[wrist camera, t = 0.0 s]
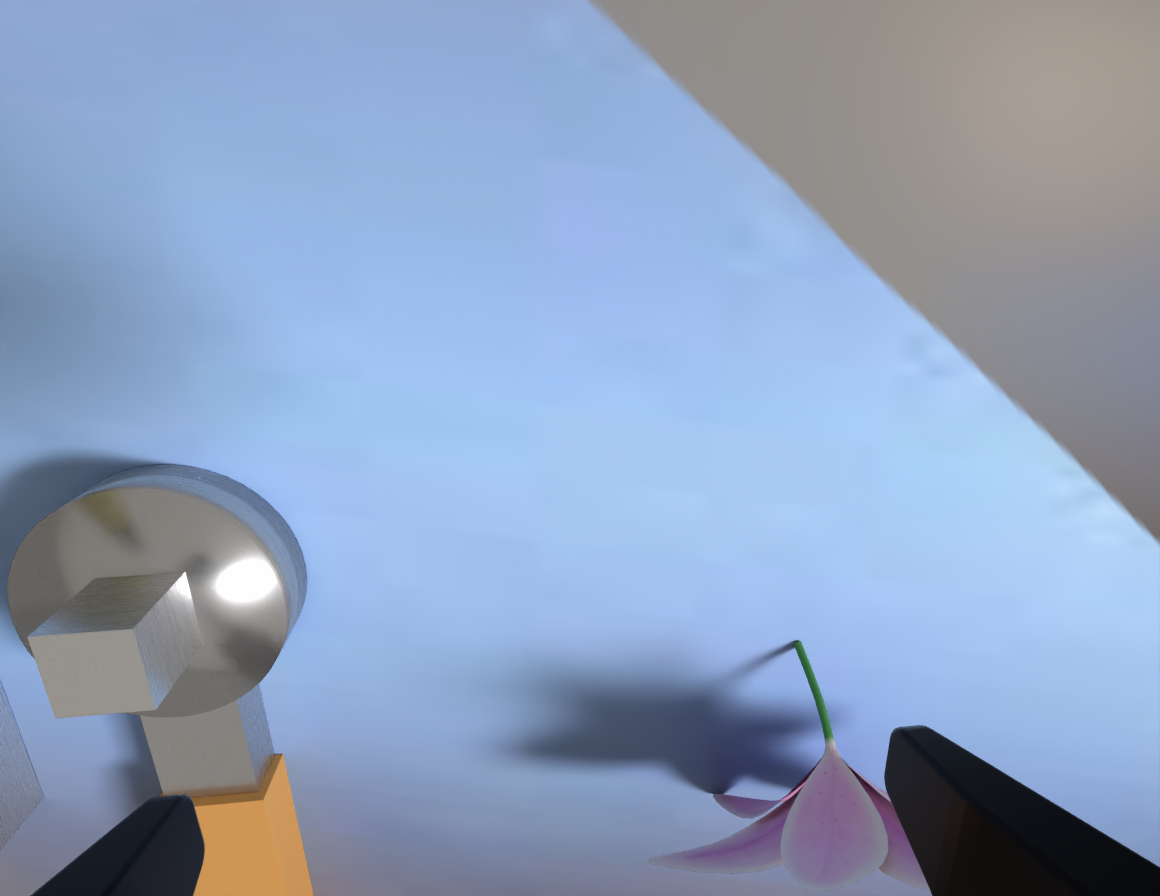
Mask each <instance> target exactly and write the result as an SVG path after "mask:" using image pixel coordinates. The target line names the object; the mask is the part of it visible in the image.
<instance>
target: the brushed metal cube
mask: <svg viewBox="0 0 1160 896" xmlns="http://www.w3.org/2000/svg"><path fill="white" fill-rule="evenodd" d="M43 798H44V797H43V794H42V792H41V789H40V786H39V784H38V781H37V778H36V776H35V773H34V770H33V768H32V765H31V762H30V760H29V757H28V754H27V752H26V749H25V746H24V744H23V741H22V738H21V736H20V733H19V730H18V728H17V725H16V722H15V720H14V717H13V714H12V712H11V709H10V706H9V704H8V701H7V698H6V696H5V693H4V690H3V688H2V685H1V682H0V851H1V850H2V849H3V848H4V846H5V845H6V844H7V843H8V842H9V840H10V839H11V838H12V837H13V835H14V834H15V833H16V832H17V830H18V829H19V828H20V827H21V825H22V824H23V823H24V822H25V820H26V819H27V818H28V817H29V815H30V814H31V813H32V812H33V811H34V809H35V808H36V807H37V806H38V804H39V803H40V802H41V801H42V799H43Z"/></svg>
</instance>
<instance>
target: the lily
mask: <svg viewBox="0 0 1160 896" xmlns="http://www.w3.org/2000/svg"><path fill="white" fill-rule="evenodd" d="M794 646H795V648H796V651H797V654H798V656H799V659H800V661H801V664H802V666H803V669H804V671H805V674H806V677H807V679H808V682H809V685H810V688H811V691H812V693H813V696H814V699H815V702H816V705H817V709H818V712H819V716H820V719H821V723H822V728H823V733H824V738H825V743H826V747H825V753H824V755H823V757H822V758H821V760H820V761H819V762H818V763H817V765H816V766H815V767H814V768H813V769H812V770H811V771H810V772H809V773H808V774H807V775H806V777H805V778H804V779H803V780H802V781H801V782H800V783H799V784H798V785H797V786H796V787H795V788H794V789H793V790H792V791H791V792H790V793H789V794H787V795H786V796H785V797H783V798H782V799H781V800H777V801H768V800H759V799H751V798H744V797H737V796H731V795H725V794H714V795H713V797H714V799H715V800H716V802H717V803H718V804H720V805H721V806H722V807H723V808H724V809H726V810H727V811H729V812H730V813H732V814H734V815H736V816H738V817H741V818H755V817H757V816H760V815H762V814H764V813H766V812H767V811H769V810H770V809H771V808H773V807H774V806H775V805H777V804H778V803H779V802H784V803H782V804H781V805H780V806H778V807H777V808H776V809H774V810H773V811H771V812H770V813H768V814H767V815H766V816H764V817H763V818H761V819H759V820H758V821H756V822H755V823H753V824H751V825H750V826H748V827H747V828H745V829H743V830H741V831H739V832H737V833H735V834H734V835H732V836H730V837H728V838H725V839H723V840H720V841H718V842H715V843H712V844H710V845H706V846H702V847H698V848H695V849H691V850H687V851H682V852H677V853H672V854H667V855H662V856H658V857H653V858H650V859H648V860H647V862H649V863H651V864H653V865H657V866H661V867H666V868H671V869H678V870H685V871H693V872H702V873H721V874H738V873H750V872H760V871H763V870H767V869H770V868H773V867H777V866H780V865H783V864H784V865H785V867H786V868H787V870H788V871H789V873H790V875H791V876H792V877H793V878H794V879H795V880H796V881H797V882H798V884H800V885H801V886H803V887H804V888H806V889H810V890H814V891H828V890H833V889H839V888H842V887H845V886H847V885H850V884H852V883H855V882H858V881H859V880H861V879H863V878H865V877H866V876H868V875H870V874H872V873H873V872H874V871H876V870H877V869H878V868H879V869H880V870H881V871H882V872H884V873H885V874H887V875H889V876H891V877H894V878H896V879H898V880H900V881H902V882H905V883H907V884H909V885H911V886H913V887H917V888H921V889H925V890H928V891H930V889H929V887H928V884H927V882H926V880H925V878H924V875H923V873H922V871H921V869H920V866H919V864H918V862H917V859H916V857H915V855H914V853H913V850H912V848H911V846H910V844H909V841H908V839H907V837H906V835H905V832H904V830H903V828H902V825H901V823H900V821H899V819H898V816H897V814H896V812H895V810H894V807H893V805H892V803H891V801H890V798H889V796H888V793H886V792H885V791H883V790H881V789H880V788H878V787H877V786H876V785H874V784H873V783H871V782H870V781H869V780H867V779H866V778H864V777H863V776H862V775H860V774H859V773H858V772H857V771H855V770H854V769H853V768H852V767H851V766H849V765H848V764H847V763H846V762H845V761H844V760H843V759H842V758H841V756H840V755H839V753H838V751H837V749H836V745H835V742H834V738H833V734H832V730H831V725H830V721H829V718H828V714H827V711H826V708H825V704H824V701H823V697H822V695H821V692H820V689H819V687H818V684H817V681H816V679H815V676H814V673H813V670H812V668H811V665H810V663H809V660H808V658H807V656H806V653H805V651H804V648H803V646H802V643H801V642H800V641H798V642H796V643H794Z"/></svg>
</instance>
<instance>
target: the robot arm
mask: <svg viewBox="0 0 1160 896" xmlns="http://www.w3.org/2000/svg"><path fill="white" fill-rule="evenodd" d="M884 778H885V786H886V790H887V793H888V796H889V798H890V801H891V803H892V805H893V807H894V810H895V812H896V814H897V816H898V819H899V821H900V823H901V825H902V828H903V830H904V832H905V835H906V837H907V839H908V841H909V844H910V846H911V848H912V850H913V853H914V855H915V857H916V859H917V862H918V864H919V866H920V869H921V871H922V873H923V875H924V878H925V880H926V882H927V884H928V887H929V889H930V891H931V893H932V896H1160V867H1159V866H1157V865H1155V864H1154V863H1152V862H1150V861H1149V860H1147V859H1145V858H1144V857H1142V856H1140V855H1139V854H1137V853H1135V852H1134V851H1132V850H1130V849H1129V848H1127V847H1126V846H1124V845H1122V844H1121V843H1119V842H1117V841H1116V840H1114V839H1112V838H1111V837H1109V836H1107V835H1106V834H1104V833H1102V832H1101V831H1099V830H1097V829H1096V828H1094V827H1093V826H1091V825H1089V824H1088V823H1086V822H1084V821H1083V820H1081V819H1079V818H1078V817H1076V816H1074V815H1073V814H1071V813H1069V812H1068V811H1066V810H1064V809H1063V808H1061V807H1060V806H1058V805H1056V804H1055V803H1053V802H1051V801H1050V800H1048V799H1046V798H1045V797H1043V796H1041V795H1040V794H1038V793H1036V792H1035V791H1033V790H1031V789H1030V788H1028V787H1027V786H1025V785H1023V784H1022V783H1020V782H1018V781H1017V780H1015V779H1013V778H1012V777H1010V776H1008V775H1007V774H1005V773H1003V772H1002V771H1000V770H998V769H997V768H995V767H994V766H992V765H990V764H989V763H987V762H985V761H984V760H982V759H980V758H979V757H977V756H975V755H974V754H972V753H970V752H969V751H967V750H965V749H964V748H962V747H961V746H959V745H957V744H956V743H954V742H952V741H951V740H949V739H947V738H946V737H944V736H942V735H941V734H939V733H937V732H936V731H934V730H932V729H931V728H929V727H926V726H922V725H917V726H906V727H898V728H895V729H894V730H893V732H892V733H891V737H890V742H889V749H888V755H887V761H886V767H885V775H884ZM204 854H205V844H204V839H203V836H202V832H201V828H200V825H199V821H198V818H197V814H196V811H195V807H194V803H193V801H192V799H191V798H190V797H189V796H188V795H186V794H175V795H165V796H156V797H153V798H151V799H149V800H148V801H146V802H145V803H143V804H142V805H141V806H140V807H138V808H137V809H136V810H135V811H134V812H132V813H131V814H130V815H129V816H127V817H126V818H125V819H124V820H123V821H121V822H120V823H119V824H118V825H116V826H115V827H114V828H113V829H111V830H110V831H109V832H108V833H107V834H105V835H104V836H103V837H102V838H100V839H99V840H98V841H97V842H96V843H94V844H93V845H92V846H91V847H89V848H88V849H87V850H86V851H85V852H83V853H82V854H81V855H80V856H78V857H77V858H76V859H75V860H73V861H72V862H71V863H70V864H69V865H67V866H66V867H65V868H64V869H62V870H61V871H60V872H59V873H58V874H56V875H55V876H54V877H53V878H51V879H50V880H49V881H48V882H46V883H45V884H44V885H43V886H42V887H40V888H39V889H38V890H37V891H35V892H34V893H33V894H32V895H31V896H193V895H194V892H195V888H196V885H197V882H198V879H199V875H200V872H201V869H202V865H203V861H204Z"/></svg>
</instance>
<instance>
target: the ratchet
mask: <svg viewBox="0 0 1160 896" xmlns="http://www.w3.org/2000/svg"><path fill="white" fill-rule="evenodd" d="M306 591H307V573H306V565H305V561H304V557H303V553H302V550H301V548H300V546H299V543H298V541H297V539H296V537H295V535H294V533H293V532H292V530H291V528H290V527H289V525H288V524H287V523H286V521H285V520H284V519H283V517H282V516H281V515H280V514H279V513H278V512H277V511H276V510H275V509H274V508H273V507H272V506H271V505H270V504H269V503H268V502H267V501H266V500H265V499H263V498H262V497H261V496H260V495H258V494H257V493H256V492H254V491H253V490H251V489H249V488H248V487H246V486H245V485H243V484H241V483H239V482H237V481H235V480H233V479H231V478H229V477H227V476H224V475H221V474H219V473H216V472H213V471H210V470H206V469H202V468H197V467H193V466H185V465H176V464H157V465H148V466H141V467H136V468H132V469H128V470H125V471H122V472H120V473H117V474H114V475H112V476H110V477H108V478H106V479H104V480H103V481H101V482H99V483H97V484H96V485H94V486H93V487H91V488H89V489H88V490H86V491H85V492H83V493H82V494H80V495H79V496H77V497H75V498H74V499H72V500H71V501H69V502H68V503H66V504H65V505H63V506H61V507H60V508H58V509H57V510H55V511H54V512H52V513H51V514H49V515H48V516H47V517H45V518H44V519H43V520H41V521H40V522H39V523H38V524H36V525H35V527H34V528H33V529H32V530H31V531H30V532H29V533H28V534H27V535H26V536H25V538H24V539H23V541H22V542H21V544H20V545H19V547H18V548H17V551H16V553H15V555H14V558H13V560H12V562H11V566H10V570H9V574H8V583H7V597H8V606H9V610H10V614H11V618H12V621H13V624H14V626H15V629H16V631H17V633H18V635H19V637H20V639H21V641H22V642H23V644H24V645H25V647H26V649H27V650H28V652H29V653H30V654H31V655H32V657H33V658H34V659H35V661H36V664H37V667H38V669H39V672H40V675H41V678H42V681H43V684H44V687H45V690H46V692H47V695H48V698H49V701H50V704H51V707H52V710H53V712H54V715H55V718H66V717H78V716H90V715H102V714H114V713H127V714H133V715H139V716H140V718H141V721H142V725H143V728H144V731H145V735H146V738H147V741H148V745H149V748H150V751H151V755H152V758H153V761H154V765H155V768H156V772H157V775H158V778H159V782H160V785H161V788H162V793H161V795H160V796H165V795H175V794H186V795H188V796H189V797H190V798H191V799H192V801H193V803H194V807H195V811H196V814H197V818H198V821H199V825H200V828H201V832H202V836H203V839H204V844H205V854H204V861H203V865H202V869H201V872H200V875H199V879H198V882H197V885H196V888H195V892H194V895H193V896H313V891H312V887H311V882H310V877H309V873H308V868H307V863H306V859H305V854H304V850H303V845H302V840H301V836H300V831H299V826H298V822H297V817H296V813H295V808H294V803H293V799H292V794H291V789H290V785H289V780H288V775H287V771H286V766H285V762H284V757H283V754H277V755H275V753H274V749H273V744H272V740H271V735H270V731H269V726H268V722H267V717H266V713H265V708H264V704H263V699H262V695H261V690H260V686H259V682H260V681H262V679H263V678H264V677H265V676H266V674H267V673H268V672H269V671H270V669H271V668H272V666H273V664H274V663H275V661H276V659H277V657H278V655H279V654H280V652H281V650H282V648H283V646H284V644H285V642H286V640H287V638H288V637H289V635H290V633H291V631H292V629H293V627H294V625H295V623H296V622H297V620H298V618H299V616H300V613H301V610H302V608H303V605H304V601H305V596H306Z"/></svg>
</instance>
